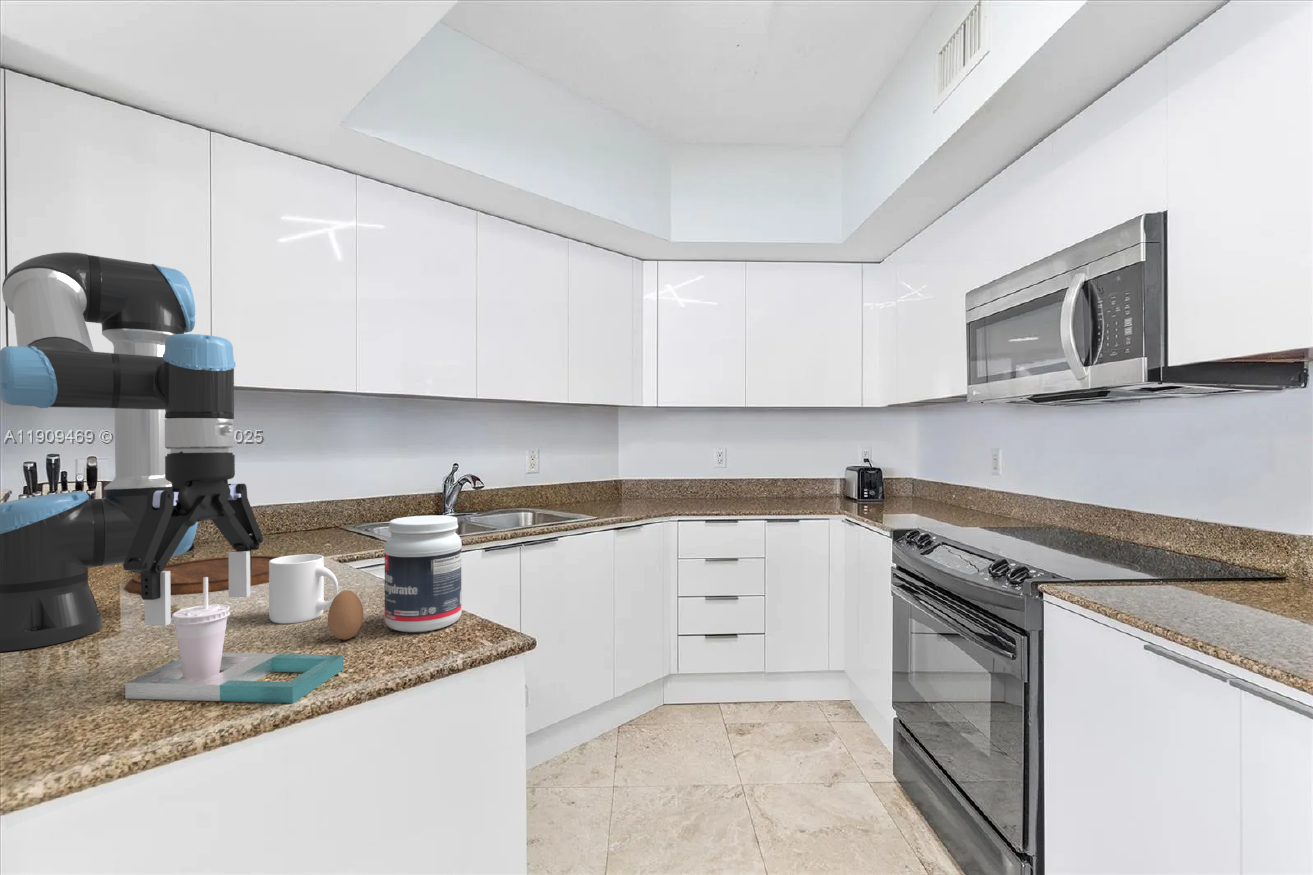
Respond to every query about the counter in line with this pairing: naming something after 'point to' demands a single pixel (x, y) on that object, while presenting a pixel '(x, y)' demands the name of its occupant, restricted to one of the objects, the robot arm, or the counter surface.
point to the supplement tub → (422, 573)
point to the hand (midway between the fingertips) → (202, 609)
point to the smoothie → (201, 637)
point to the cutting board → (205, 575)
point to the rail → (239, 679)
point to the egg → (345, 615)
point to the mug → (298, 588)
